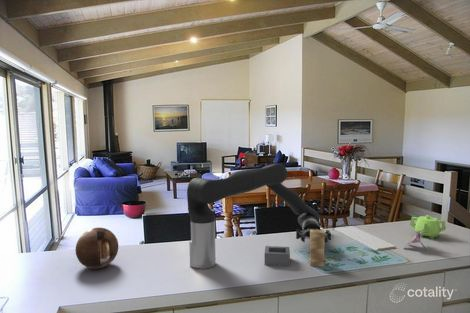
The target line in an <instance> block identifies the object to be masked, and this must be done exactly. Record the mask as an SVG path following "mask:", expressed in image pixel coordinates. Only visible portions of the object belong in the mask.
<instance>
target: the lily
mask: <svg viewBox="0 0 470 313" xmlns="http://www.w3.org/2000/svg"><path fill="white" fill-rule="evenodd" d="M424 229H425V228H424ZM424 229H423V230H424ZM423 230H422V231H423ZM420 231H421V230H420ZM420 231H419V232H418V233H415V235H412V240H411V241H410V242H408V243H407V244H406V246H408V245H409V246H410V244H415V243H419V244H421V245H422V247H423V248H424V250H425V251H427V249H426V246H425V245H424V244H423V243H422V242H421V237H420V235H421V232H422V231H421V232H420ZM406 246H404V247H403V249H404V248H406Z"/></svg>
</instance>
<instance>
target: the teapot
mask: <svg viewBox="0 0 470 313" xmlns="http://www.w3.org/2000/svg"><path fill="white" fill-rule="evenodd" d="M440 224H441V225H440ZM409 225H410V226H411V227H412V228H414V231H415V234H417V233H418V232H419V231H420V230H421V231H422V230H423V229H424V228H425V229H424V230H423V231H422V232H421V231H420V232H421V235H420V238H423V237H424V236H425V237H429V239H432V240H435V237H436V238H437V237H438V236H439V234H440V233H441V232H443V231H446V229H447V228H446V227H447V226H446V221H445V220H439V219H438V218H436V217H432V216H431V215H428V214H426V215H425V216H422V215H421V216H419V217H416V216H411V219H410V222H409ZM440 226H441V227H440Z"/></svg>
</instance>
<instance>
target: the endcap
mask: <svg viewBox="0 0 470 313" xmlns="http://www.w3.org/2000/svg"><path fill="white" fill-rule="evenodd" d="M290 251H291V250H290V246H277V245H276V246H275V245H274V246H273V245H265V246H264V266H277V267H279V266H280V267H290V266H291V265H290V264H291V262H290V261H291V260H290V259H291V254H290V253H291V252H290Z"/></svg>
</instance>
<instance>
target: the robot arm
mask: <svg viewBox="0 0 470 313" xmlns="http://www.w3.org/2000/svg"><path fill="white" fill-rule="evenodd" d="M287 177H288V170H287V168H286V166H284V164H281V163H278V162H277V163H272V164H268V165H265V166H263V167H261V168H251V169H250V168H249V169H244V170H239V171H238V170H237V171H234V172H232V173H231V174H230V175H229V176H227V177H226V178H221V179H220V178H219V179H210V178H203V177H194V178H192V179H191V180H190V181H189V183H188V185H187V189H186V197H187V198H186V199H187V212H188V215H189V217H190V241H189V266H190V268H191V267H193V268H195V269H200V270H205V269H206V270H207V269H209V268H212V267H214V266H216V259H217V258H216V214H215V212H214V211H213V210H212V209H211V208H210V206H209V205H211V204H213V203H216V202H218V201H219V202H220V200H223V199H225V198H228V197H232V196H237V195H241V194H245V193H248V192H252V191H255V190H258V189H261V188H262V187H265V186H266V187H267V188H268V189H270V190H271V191H272V192H274V193H275V194H276V195H277V196H278V197H280V198H281V199H282V200H283V201H284V202H285V204H286V205H287V206H288V207H289V208H290V210H291V211H292V212H293V213H294V214H295V215H299V216H298V217H297V223H298V225H299V226H300V227H301V228H302V230H300V228H296V229H295V230H296V232H295V233H296V234H295V235H296V236H295V238H296V239H297V240H299V239H300V241H301V242H302V243H305V241H306V240H308V239H309V240H310V229H312V230H322V229H321V226H320V224H319V221H320V214H319V212H318V211H317V210H315V209H314V208H312V207H311V206H309V204H307V203H306V202H305V201H304V199H303V198H302V197H301V196H300V195H299V194H298V193H297V192H296V191H293V190H292V189H290V188H289V187H287V186H285V185H284V184H282V183H283V182H285V180H286V179H287ZM324 233H325V236H324V244H327V243H329V241H332V233H331V232H330V230H329V229H327V230H325V231H324Z"/></svg>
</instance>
